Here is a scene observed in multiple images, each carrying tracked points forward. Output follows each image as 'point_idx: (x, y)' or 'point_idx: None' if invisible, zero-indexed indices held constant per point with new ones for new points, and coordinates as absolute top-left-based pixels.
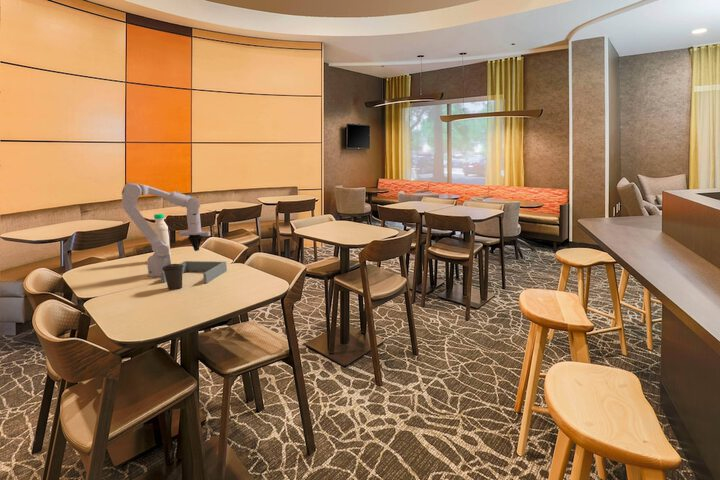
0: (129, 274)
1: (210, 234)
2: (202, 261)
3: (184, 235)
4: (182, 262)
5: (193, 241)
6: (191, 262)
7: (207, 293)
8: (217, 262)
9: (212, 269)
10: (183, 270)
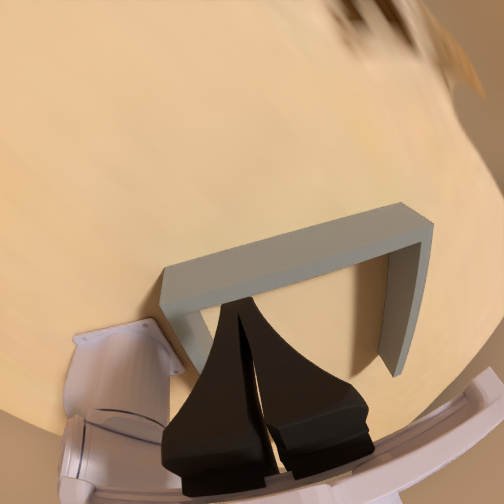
0: (34, 372)
1: (495, 375)
2: (293, 273)
3: (128, 493)
4: (175, 334)
5: (266, 429)
6: (217, 301)
7: (407, 377)
8: (395, 249)
9: (410, 341)
10: (198, 316)
